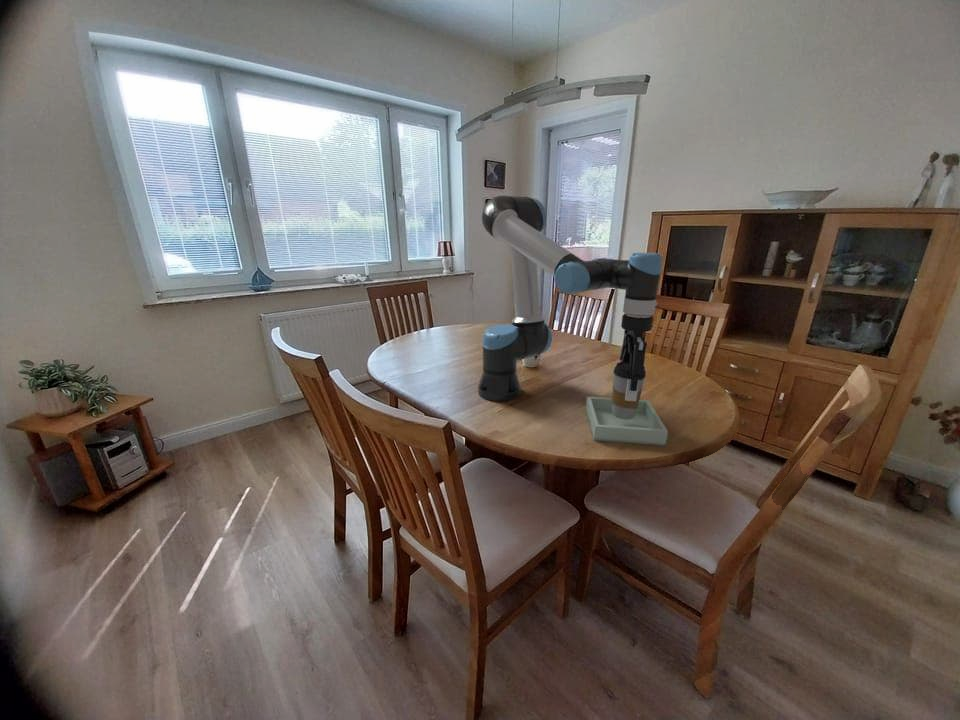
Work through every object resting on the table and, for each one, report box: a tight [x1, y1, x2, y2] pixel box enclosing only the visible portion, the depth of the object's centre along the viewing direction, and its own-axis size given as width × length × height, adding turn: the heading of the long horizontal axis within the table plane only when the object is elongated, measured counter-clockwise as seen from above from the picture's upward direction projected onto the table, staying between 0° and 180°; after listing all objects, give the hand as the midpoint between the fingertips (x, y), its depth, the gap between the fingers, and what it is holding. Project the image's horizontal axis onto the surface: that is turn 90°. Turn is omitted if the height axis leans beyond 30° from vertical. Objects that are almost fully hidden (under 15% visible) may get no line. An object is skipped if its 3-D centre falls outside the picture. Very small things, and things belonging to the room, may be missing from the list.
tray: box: [585, 396, 669, 447], centre depth 105 cm, size 18×18×4 cm
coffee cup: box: [611, 361, 647, 419], centre depth 102 cm, size 8×8×15 cm
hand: (626, 393), depth 102 cm, fingers closed on coffee cup, 8 cm apart
